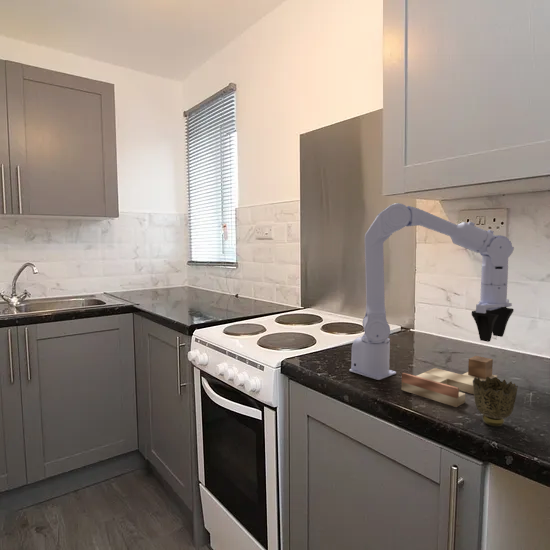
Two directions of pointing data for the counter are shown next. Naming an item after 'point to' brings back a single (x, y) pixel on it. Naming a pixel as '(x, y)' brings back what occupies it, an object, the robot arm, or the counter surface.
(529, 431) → the counter surface
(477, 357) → the walnut cube
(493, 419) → the cup
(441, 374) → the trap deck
